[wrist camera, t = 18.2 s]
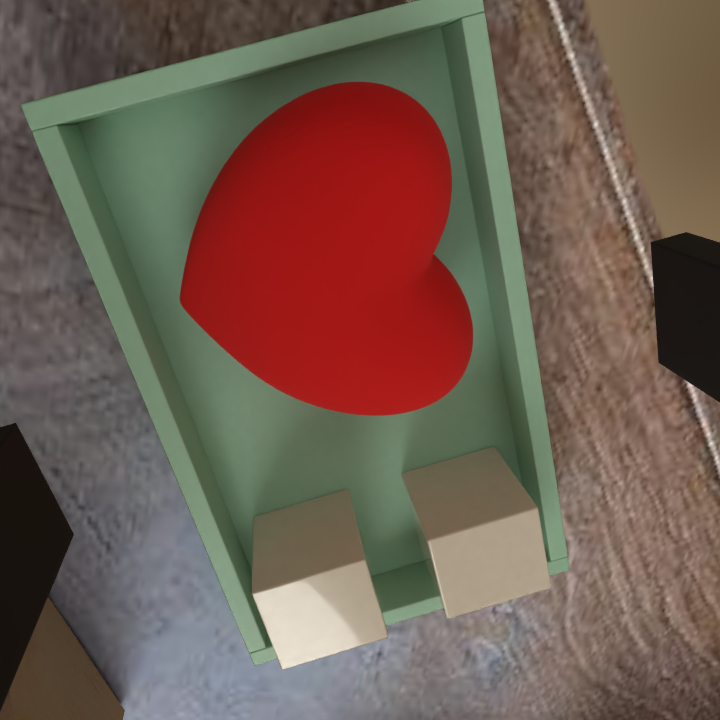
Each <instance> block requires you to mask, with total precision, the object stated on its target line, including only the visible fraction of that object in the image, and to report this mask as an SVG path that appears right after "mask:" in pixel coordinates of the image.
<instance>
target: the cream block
mask: <svg viewBox="0 0 720 720" xmlns="http://www.w3.org/2000/svg"><path fill="white" fill-rule="evenodd" d="M252 595H253V598H254V600H255V603H256V605H257V608H258V611H259V613H260V616H261V618H262V621H263V623H264V626H265V628H266V631H267V633H268V636H269V638H270V641H271V643H272V646H273V648H274V651H275V653H276V656H277V658H278V661H279V664H280V666H281V668H282V669H283V670H284V669H287V668H290V667H294V666H297V665H300V664H303V663H307V662H310V661H313V660H317V659H320V658H323V657H326V656H330V655H333V654H336V653H339V652H343V651H346V650H349V649H353V648H356V647H359V646H362V645H366V644H369V643H372V642H376V641H379V640H382V639H385V638H388V631H387V627H386V623H385V619H384V615H383V611H382V607H381V603H380V599H379V595H378V590H377V586H376V582H375V578H374V574H373V570H372V566H371V562H370V558H369V555H368V551H367V548H366V545H365V541H364V538H363V535H362V531H361V528H360V525H359V521H358V518H357V514H356V511H355V508H354V504H353V501H352V498H351V494H350V491H349V489H346V490H342V491H339V492H335V493H332V494H329V495H325V496H322V497H318V498H315V499H312V500H308V501H305V502H301V503H298V504H295V505H291V506H288V507H284V508H281V509H278V510H274V511H271V512H267V513H264V514H261V515H257V516H254V517H253V553H252Z"/></svg>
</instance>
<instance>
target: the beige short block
mask: <svg viewBox="0 0 720 720" xmlns="http://www.w3.org/2000/svg"><path fill="white" fill-rule="evenodd" d="M401 476H402V480H403V484H404V487H405V491H406V495H407V499H408V503H409V507H410V511H411V514H412V518H413V522H414V526H415V530H416V534H417V538H418V541H419V545H420V547H421V550H422V553H423V555H424V558H425V561H426V564H427V566H428V569H429V572H430V574H431V577H432V580H433V583H434V585H435V588H436V591H437V593H438V596H439V599H440V602H441V604H442V607H443V610H444V612H445V615H446V617H447V618H448V619H450V618H453V617H457V616H460V615H463V614H466V613H470V612H473V611H476V610H480V609H483V608H486V607H489V606H493V605H496V604H499V603H502V602H506V601H509V600H512V599H516V598H519V597H522V596H525V595H529V594H532V593H535V592H539V591H542V590H545V589H548V588H550V587H551V582H550V576H549V570H548V564H547V558H546V552H545V546H544V540H543V535H542V529H541V523H540V517H539V511H538V507H537V506H536V504H535V503H534V502H533V500H532V499H531V497H530V496H529V494H528V493H527V492H526V490H525V489H524V487H523V486H522V485H521V483H520V482H519V480H518V479H517V477H516V476H515V475H514V473H513V472H512V470H511V469H510V467H509V466H508V465H507V463H506V462H505V460H504V459H503V457H502V456H501V455H500V453H499V452H498V450H497V449H496V447H495V446H492V447H489V448H486V449H482V450H479V451H475V452H472V453H469V454H465V455H462V456H458V457H455V458H452V459H448V460H445V461H441V462H438V463H435V464H431V465H428V466H424V467H421V468H418V469H414V470H411V471H407V472H404V473H402V475H401Z"/></svg>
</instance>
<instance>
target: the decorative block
mask: <svg viewBox="0 0 720 720" xmlns="http://www.w3.org/2000/svg"><path fill="white" fill-rule="evenodd" d="M123 716H124V709H123V708H122V706H121V705H120V703H119V702H118V700H117V699H116V697H115V696H114V694H113V693H112V691H111V690H110V688H109V687H108V685H107V684H106V682H105V681H104V679H103V678H102V676H101V675H100V673H99V672H98V670H97V669H96V667H95V666H94V664H93V663H92V661H91V660H90V658H89V657H88V655H87V654H86V652H85V651H84V649H83V648H82V646H81V645H80V643H79V642H78V640H77V639H76V637H75V636H74V634H73V633H72V631H71V630H70V628H69V627H68V625H67V624H66V622H65V621H64V619H63V618H62V616H61V615H60V613H59V612H58V610H57V609H56V608H55V606H54V605H53V603H52V602H51V600H50V599H49V597H48V598H47V600H46V603H45V605H44V607H43V610H42V612H41V615H40V617H39V620H38V622H37V624H36V627H35V629H34V632H33V634H32V636H31V639H30V641H29V644H28V646H27V648H26V651H25V653H24V656H23V658H22V661H21V663H20V665H19V668H18V670H17V673H16V675H15V677H14V680H13V682H12V685H11V687H10V689H9V692H8V694H7V697H6V699H5V702H4V704H3V706H2V709H1V711H0V720H123Z"/></svg>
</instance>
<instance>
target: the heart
mask: <svg viewBox="0 0 720 720" xmlns="http://www.w3.org/2000/svg"><path fill="white" fill-rule="evenodd" d="M451 196H452V170H451V162H450V157H449V152H448V149H447V146H446V142H445V140H444V137H443V135H442V133H441V131H440V129H439V127H438V125H437V123H436V122H435V120H434V119H433V117H432V116H431V115H430V114H429V112H428V111H427V110H426V109H425V108H424V107H423V106H422V105H421V104H420V103H419V102H418V101H416V100H415V99H414V98H412V97H411V96H409V95H408V94H406V93H404V92H402V91H400V90H398V89H395V88H393V87H390V86H387V85H383V84H378V83H372V82H345V83H338V84H333V85H329V86H325V87H322V88H319V89H316V90H313V91H310V92H308V93H306V94H304V95H302V96H299V97H297V98H295V99H293V100H292V101H290V102H288V103H287V104H285V105H283V106H282V107H280V108H279V109H277V110H276V111H275V112H273V113H272V114H271V115H269V116H268V117H267V118H265V119H264V120H263V121H262V122H261V123H260V124H258V125H257V126H256V127H255V128H254V129H253V130H252V131H251V132H250V133H249V134H248V135H247V136H246V137H245V138H244V139H243V141H242V142H241V143H240V144H239V146H238V147H237V148H236V149H235V150H234V152H233V153H232V155H231V156H230V157H229V159H228V160H227V162H226V163H225V165H224V166H223V168H222V169H221V171H220V173H219V174H218V176H217V178H216V180H215V181H214V183H213V185H212V187H211V189H210V191H209V193H208V195H207V197H206V199H205V201H204V204H203V206H202V208H201V211H200V213H199V216H198V219H197V222H196V225H195V228H194V231H193V234H192V238H191V241H190V245H189V249H188V254H187V258H186V263H185V268H184V273H183V279H182V285H181V291H180V304H181V305H182V307H183V308H184V309H185V311H186V312H187V313H188V314H189V315H190V316H191V317H192V318H193V319H194V321H195V322H196V323H197V324H198V325H199V326H200V327H201V328H202V329H203V330H204V331H205V332H206V333H207V334H208V335H209V336H210V337H211V338H212V339H213V340H214V341H216V342H217V343H218V344H219V345H220V346H221V347H222V348H223V349H224V350H225V351H226V352H227V353H229V354H230V355H231V356H232V357H233V358H234V359H235V360H237V361H238V362H239V363H240V364H241V365H243V366H244V367H245V368H246V369H248V370H249V371H250V372H252V373H253V374H254V375H256V376H257V377H258V378H260V379H261V380H263V381H264V382H266V383H267V384H269V385H271V386H272V387H274V388H276V389H277V390H279V391H281V392H283V393H285V394H287V395H289V396H291V397H293V398H296V399H298V400H300V401H303V402H305V403H308V404H311V405H314V406H317V407H321V408H324V409H328V410H332V411H337V412H341V413H348V414H355V415H368V416H385V415H396V414H402V413H407V412H411V411H415V410H418V409H421V408H424V407H426V406H429V405H431V404H433V403H435V402H436V401H438V400H440V399H441V398H443V397H444V396H445V395H447V394H448V393H449V392H450V391H451V390H452V389H453V388H454V387H455V386H456V385H457V384H458V382H459V381H460V379H461V378H462V376H463V375H464V373H465V371H466V369H467V366H468V363H469V361H470V357H471V353H472V348H473V324H472V318H471V313H470V310H469V306H468V303H467V301H466V298H465V296H464V294H463V292H462V289H461V287H460V286H459V284H458V282H457V281H456V279H455V278H454V276H453V275H452V273H451V272H450V271H449V270H448V268H447V267H446V266H445V265H444V264H443V263H442V262H441V261H440V260H439V259H438V258H437V257H436V256H435V255H434V252H435V250H436V248H437V246H438V244H439V242H440V239H441V237H442V234H443V232H444V229H445V226H446V223H447V219H448V215H449V210H450V204H451Z"/></svg>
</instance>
